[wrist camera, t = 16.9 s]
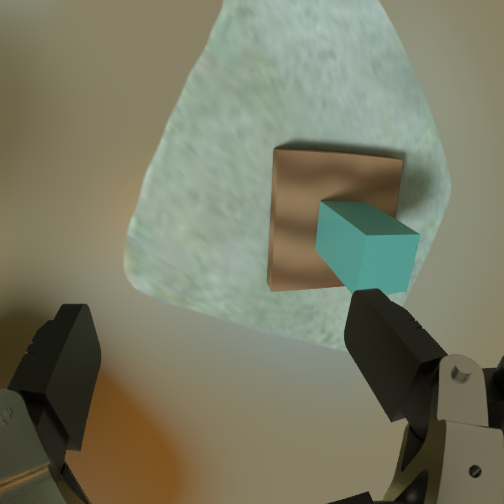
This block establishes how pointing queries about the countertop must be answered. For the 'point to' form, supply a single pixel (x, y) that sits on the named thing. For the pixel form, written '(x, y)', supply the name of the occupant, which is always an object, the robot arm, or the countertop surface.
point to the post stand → (307, 207)
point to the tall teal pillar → (365, 246)
